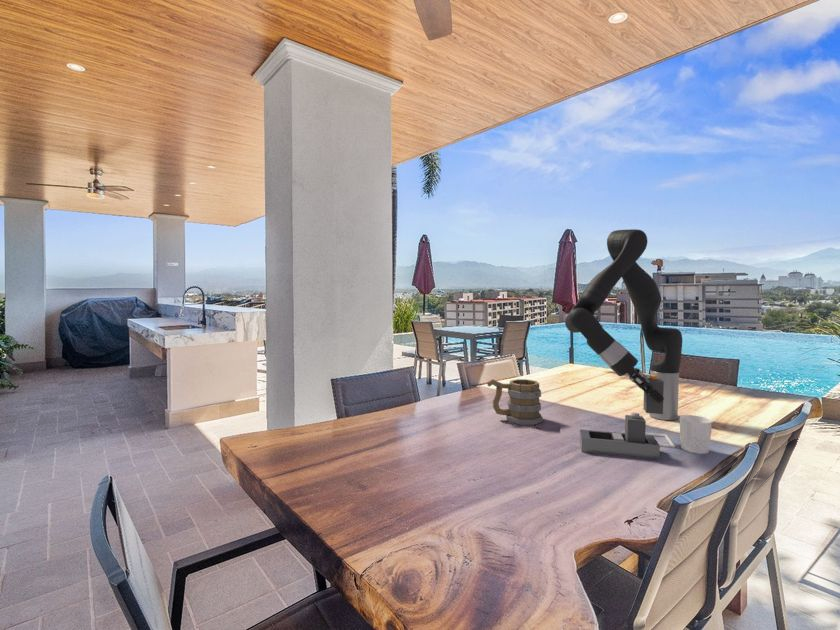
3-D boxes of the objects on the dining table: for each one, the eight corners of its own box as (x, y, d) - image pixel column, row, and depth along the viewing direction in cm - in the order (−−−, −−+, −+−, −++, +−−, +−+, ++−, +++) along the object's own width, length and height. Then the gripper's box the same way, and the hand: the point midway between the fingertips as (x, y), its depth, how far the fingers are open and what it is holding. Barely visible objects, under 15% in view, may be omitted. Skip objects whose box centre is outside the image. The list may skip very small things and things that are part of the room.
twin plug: (624, 448, 124) (625, 410, 123) (641, 450, 123) (642, 412, 122) (627, 454, 120) (628, 415, 119) (644, 455, 119) (645, 416, 118)
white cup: (695, 459, 119) (697, 424, 118) (672, 449, 126) (673, 416, 126) (717, 456, 121) (718, 421, 120) (693, 446, 128) (694, 413, 128)
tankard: (538, 414, 161) (538, 376, 160) (544, 425, 149) (545, 383, 148) (485, 413, 163) (485, 375, 162) (487, 424, 151) (487, 382, 150)
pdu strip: (579, 445, 130) (579, 428, 129) (652, 452, 124) (653, 434, 123) (581, 455, 122) (581, 437, 122) (659, 463, 116) (659, 444, 116)
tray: (631, 436, 137) (631, 431, 137) (666, 439, 134) (666, 434, 134) (637, 447, 127) (637, 442, 127) (674, 451, 125) (675, 445, 124)
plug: (643, 408, 133) (644, 373, 132) (659, 409, 132) (660, 374, 131) (646, 412, 129) (647, 376, 128) (662, 414, 127) (663, 377, 127)
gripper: (628, 353, 125) (674, 396, 122) (625, 346, 138) (666, 385, 135) (608, 370, 128) (653, 413, 124) (607, 361, 141) (647, 400, 137)
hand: (660, 398), depth 129 cm, fingers closed on plug, 4 cm apart
